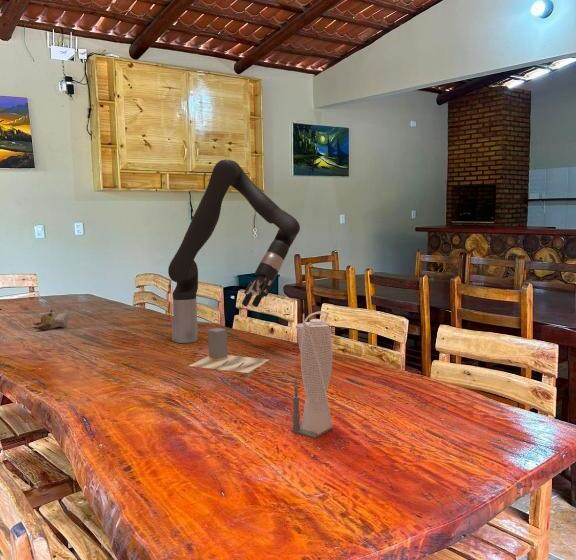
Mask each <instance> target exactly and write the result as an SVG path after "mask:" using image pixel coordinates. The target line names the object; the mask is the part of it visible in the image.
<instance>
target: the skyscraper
mask: <svg viewBox="0 0 576 560" xmlns="http://www.w3.org/2000/svg"><path fill="white" fill-rule="evenodd" d="M329 313H330V312H328V311H327V310H319V311H316V312H315V311H314V312H312V313H310V314H308V315H307V316H306V318H304V324H303V332H302V341H301V352H300V371H301V378H302V383H303V389H304V394H305V401H304V405H303V407H304V408H303V413H302V414H303V415H302V420H301V414H300V408H299V407H300V396H299V395H298V394H299V393H298V391H299V390H298V388H299V386H298V385H297V384H298V383H297V382H298V381H297V378H294V382H295V383H294V384H295V385H293V386H294V387H293V388H294V396H292V404H293V405H292V406H293V410H292V411H293V412H292V422H293V423H292V427H291V429H290V431H291V432H293V433H296V434H299V435H302V436H305V437H308V438H310V439H317V438H319V437H320V436H322V435H324V434H325V433H328V432H329V431H331V430H332V429H333V423H332V416H331V412H330V411H331V410H330V405H329V399H328V395H327V391H328V389H329V384H330V380H331V376H332V375H331V374H332V368H333V342H332V334H331V324H330V323H329V322H327V320H328V317H329V315H330V314H329ZM318 314H326V315H325V317H324V320H323V319H319V318H313V319H310V321H308V319H309V318H311V317H312V316H314V315H315V316H316V315H318ZM303 341H304V342H303ZM300 421H301V424H300Z"/></svg>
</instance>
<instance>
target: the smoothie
mask: <svg viewBox="0 0 576 560" xmlns="http://www.w3.org/2000/svg"><path fill="white" fill-rule="evenodd" d="M304 321H305V313H303V314H302V323H297V324H295V329H296V335H297V341H298V351H299V352H300V353H301V341H302V332H303V324H304ZM303 342H304V341H303Z"/></svg>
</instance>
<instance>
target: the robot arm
mask: <svg viewBox="0 0 576 560" xmlns="http://www.w3.org/2000/svg"><path fill="white" fill-rule="evenodd" d="M209 178H210V179H209V181H208V184H207V187H206V189H205V192H204V194H203V196H202V198H201V199H200V202H199V204H198V206H197V208H196V210H195V212H194V214H193V217H192V219H191V220H190V223H189V226H188V228H187V230H186V232H185V234H184V237H183V239H182V241H181V244H180V245H179V247H178V249H177V251H176V252H175V254H174V256H173V258H172V260H171V261H170V262H169V265H168V267H167V268H168V270H167V273H168V277H169V279H170V280H171V281H172V282H174V283H176V286H175V289H174V290H173V291H172V307H173V308H172V313H173V316H172V317H171V339H172V340H171V341H172V342H175V343H179V344H190V343H191V344H192V343H194V342H197V341H199V339H198V337H199V334H198V332H199V331H198V306H197V294H198V293H197V292H198V289H199V268H198V265H197V263H196V261H195V258H196V256H197V255H198V253H199V251H200V250H201V249H202V248H203V246H204V245H205V244H206V243H207V242H208V240H209V239H210V238H211V236H212V235H213V233H214V231H215V229H216V226H217V225H218V222H219V219H220V216H221V210H222V203H223V201H224V198H225V195H226V194H227V192H228V190H229V189H230V187H232V188H233V189H235V190H236V191H238V192H239V193H240V194H241V195H242V196H243V197H244V198H245V200H246V201H247V202H248V204H250V206H251V208H252V209H253V210H255V212H256V213H257V214H258V215H259V216H260V217H261V218H263V220H265V222H267V223H268V224H274V226H276V227H277V228H278V231H277V233H276V235H275V236H274V239H273V240H272V242H271V243H270V245H269V247H268V249H267V250H266V252H265V254H264V255H263V257H262V258H261V261H260V262H259V264H258V266H257V268H256V270H255V272H254V275H255V276H256V278H255V280H254V279H250V281H249V284H248V285H247V287H246V288H245V290H244V292H243V293H244V294H245V296H244V298H243V300H242V302H241V305H242V306H244V307H245V308H246V307H248V306H249V303H250V301H251V300H252V298H253V297H254V296H255V297H254V299H253V300H252V302H251V305H252V306H253V307H254V308H258V307H259V305H260V303H261V301H262V299H264V298H265V297H267V296H268V295H269V292H270V290H271V289H272V287H273V285H274V281H275V280H276V277H277V275H278V274H279V272H280V270H281V268H282V266H283V264H284V261H285V259H286V258H287V255H288V253H289V250H290V248H291V246H292V244H293V243H294V241H295V240H296V237H297V236H298V234H299V233H300V230H301V227H300V226H301V225H300V222H299V221H298V220H297V219H296V218H295V217H294V216H292V215H291V214H290V213H288V212H286V211H285V210H283V209H281V208H280V206H279V205H278V204H276V203H275V202H274V201H273V200H272V199H271V198H270V197H269V196H267V194H266V193H264V192H263V191H262V190H261V189H260V188H259V187H258V186H257V185H256V184H255V183H254V182H253V180H251V179H250V177H249V176H248V175H247V173H246V172H245V171H244V170H243V169H242V167H241V166H240V164H239V163H238V162H237V161H235V160H232V159H222V160H219V161H217V163H216V164H215V165H214V167H213V169H212V172H211V175H210V177H209Z"/></svg>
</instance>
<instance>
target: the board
mask: <svg viewBox="0 0 576 560" xmlns="http://www.w3.org/2000/svg"><path fill="white" fill-rule="evenodd" d="M227 357H228V358H227V359H223V360H220V361H215V360H211V359H209V355H207V356H205V357H203V358H201V359H199V360H197V361H195V362H193V363H191V364H189V365H188V367H195V368H203V369H210V370H211V369H212V370H219V371H228V372H235V373H236V372H237V373H245V374H242V375H239V377H242V378H247V379H248V378H250V377H252V376H253V375H255V374H256V373H258V372H259V371H260V369H258V370H255V369H257V368H259V367H260V366H262V365H263V364H265V363H267V362H268V361H270V359H266V358H259V357H249V356H241V355H240V356H239V355H229V354H227ZM254 370H255V371H254Z"/></svg>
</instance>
